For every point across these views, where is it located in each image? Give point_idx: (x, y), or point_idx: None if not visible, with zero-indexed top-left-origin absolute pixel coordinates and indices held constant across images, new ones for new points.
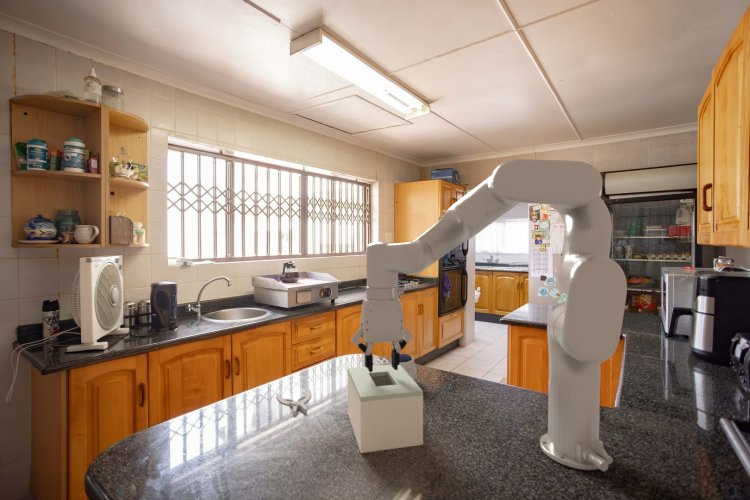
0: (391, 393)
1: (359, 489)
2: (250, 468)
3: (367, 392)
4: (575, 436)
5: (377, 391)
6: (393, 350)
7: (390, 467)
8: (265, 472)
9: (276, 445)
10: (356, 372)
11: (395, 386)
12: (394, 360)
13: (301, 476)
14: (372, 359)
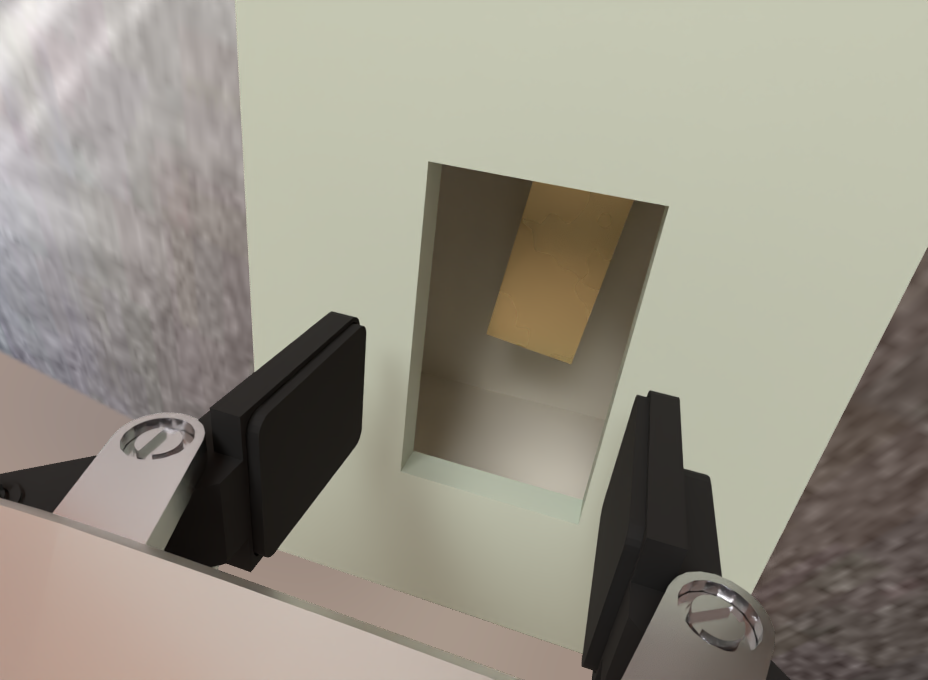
0: (463, 604)
1: None
2: (42, 279)
3: (315, 516)
4: None
5: (383, 539)
6: (620, 622)
7: None
8: (90, 321)
9: (87, 169)
10: (307, 88)
11: (543, 545)
12: (593, 584)
13: (195, 391)
14: (288, 531)
